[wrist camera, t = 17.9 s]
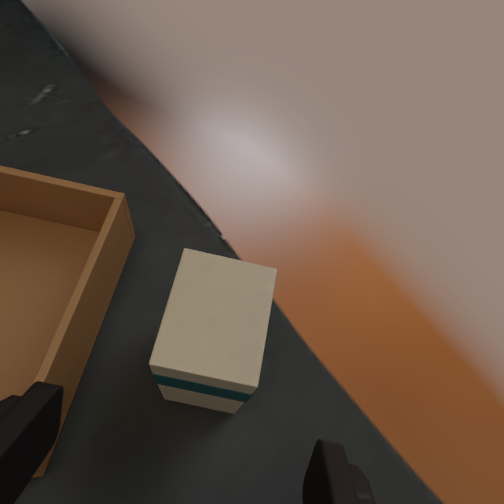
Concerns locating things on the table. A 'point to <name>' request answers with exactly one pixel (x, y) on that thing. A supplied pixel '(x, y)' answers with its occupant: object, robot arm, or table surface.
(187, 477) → the table surface
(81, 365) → the box
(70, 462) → the table surface
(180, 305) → the carton
